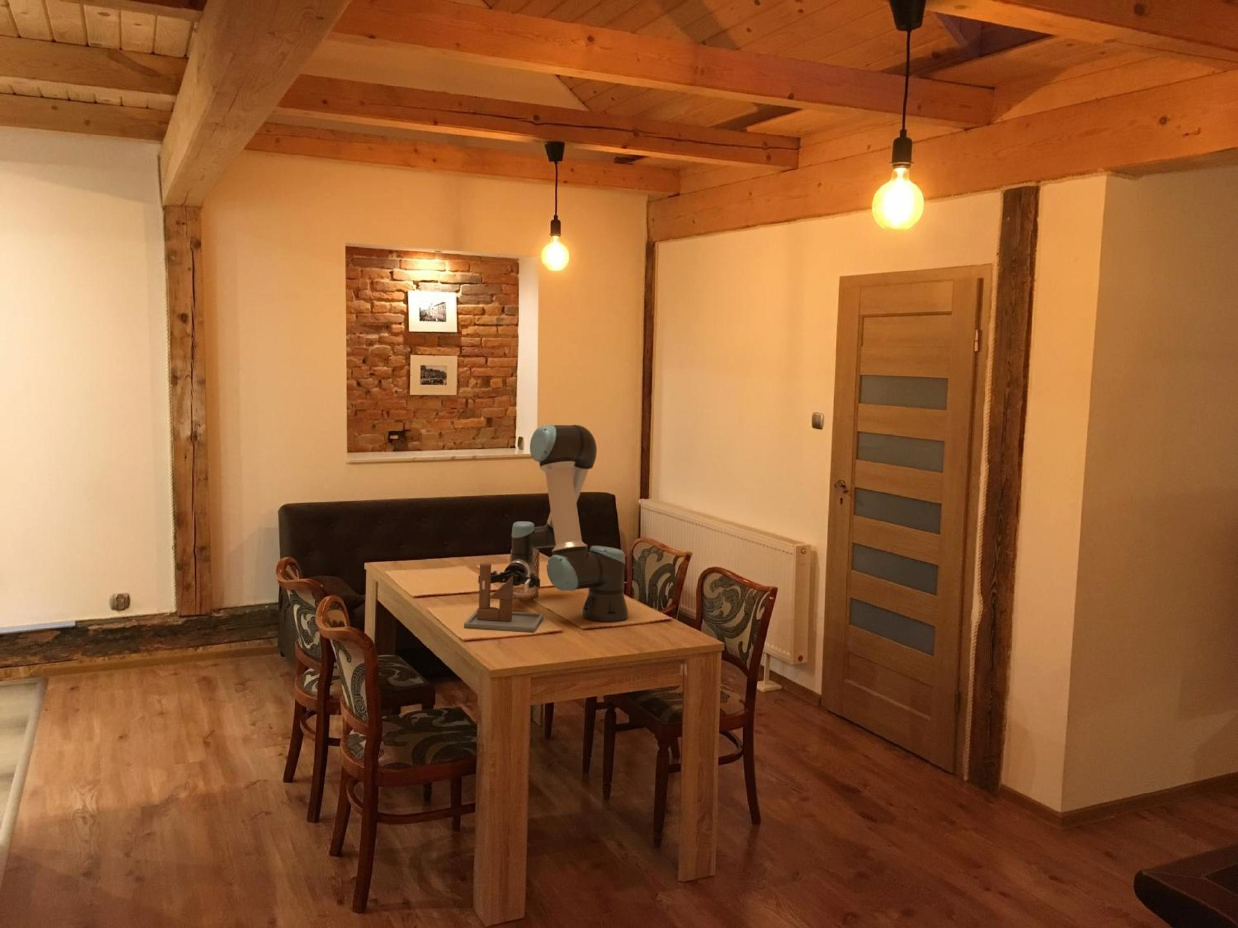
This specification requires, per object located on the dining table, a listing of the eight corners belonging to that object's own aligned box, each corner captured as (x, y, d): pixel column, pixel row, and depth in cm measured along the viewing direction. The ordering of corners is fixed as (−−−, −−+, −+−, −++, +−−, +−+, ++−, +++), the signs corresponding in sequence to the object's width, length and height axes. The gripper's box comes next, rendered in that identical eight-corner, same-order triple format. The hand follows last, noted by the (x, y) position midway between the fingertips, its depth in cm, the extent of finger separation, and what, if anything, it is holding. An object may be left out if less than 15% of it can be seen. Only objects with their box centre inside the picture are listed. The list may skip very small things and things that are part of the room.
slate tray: (543, 618, 346) (543, 613, 346) (533, 632, 328) (533, 627, 328) (477, 614, 348) (477, 609, 348) (464, 627, 330) (464, 623, 330)
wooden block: (509, 622, 337) (511, 566, 335) (476, 619, 338) (478, 564, 336) (512, 619, 341) (513, 564, 339) (479, 617, 342) (480, 562, 340)
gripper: (553, 585, 356) (543, 600, 335) (479, 581, 358) (465, 595, 337) (553, 563, 356) (543, 576, 335) (480, 559, 358) (466, 572, 337)
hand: (504, 586), depth 336 cm, fingers open, 13 cm apart
